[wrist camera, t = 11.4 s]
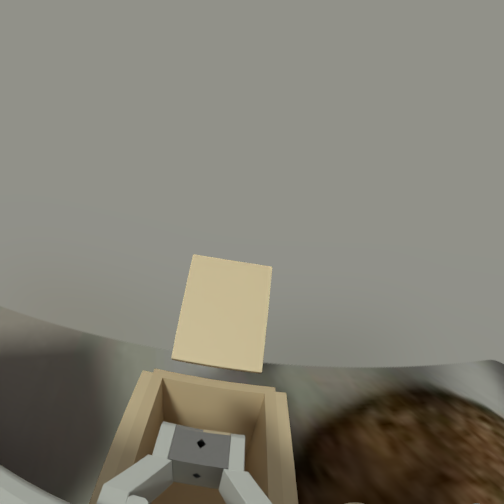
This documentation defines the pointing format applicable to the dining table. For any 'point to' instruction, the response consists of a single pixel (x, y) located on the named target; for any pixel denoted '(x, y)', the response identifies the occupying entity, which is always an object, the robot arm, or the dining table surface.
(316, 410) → the dining table surface
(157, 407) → the carton
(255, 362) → the flap
